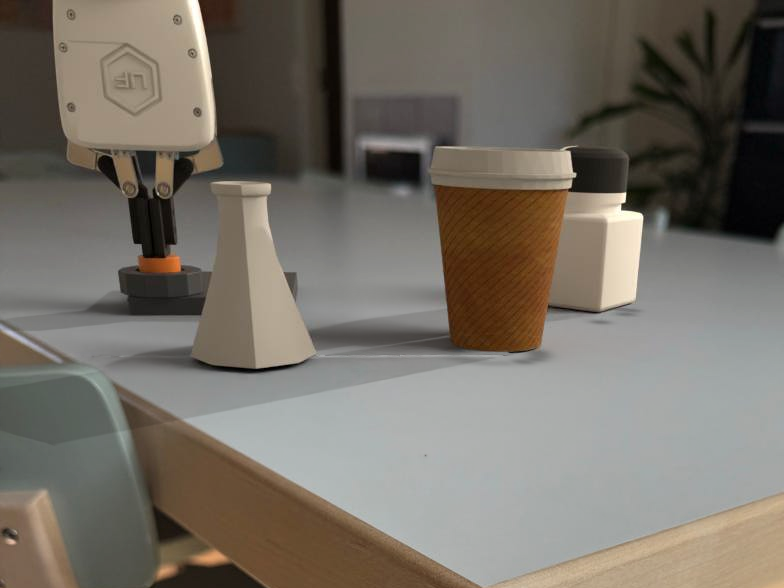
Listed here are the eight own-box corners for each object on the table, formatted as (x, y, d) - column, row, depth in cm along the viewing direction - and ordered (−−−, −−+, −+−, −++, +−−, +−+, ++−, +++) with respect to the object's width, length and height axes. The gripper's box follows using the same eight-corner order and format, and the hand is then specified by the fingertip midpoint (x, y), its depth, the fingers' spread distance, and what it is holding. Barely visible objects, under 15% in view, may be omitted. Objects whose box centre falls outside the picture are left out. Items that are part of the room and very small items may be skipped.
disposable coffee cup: (398, 341, 67) (396, 145, 62) (491, 325, 74) (497, 146, 68) (501, 364, 62) (509, 151, 56) (592, 345, 68) (608, 152, 63)
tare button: (137, 280, 73) (134, 258, 72) (143, 274, 75) (141, 253, 75) (179, 280, 73) (176, 258, 73) (184, 275, 76) (181, 253, 75)
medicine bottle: (636, 302, 85) (651, 147, 79) (599, 313, 80) (613, 147, 74) (563, 294, 88) (573, 144, 83) (523, 303, 83) (531, 144, 77)
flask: (257, 378, 57) (242, 188, 52) (169, 361, 60) (147, 181, 56) (337, 357, 62) (330, 184, 58) (252, 343, 66) (239, 177, 61)
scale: (118, 317, 73) (112, 274, 71) (148, 287, 85) (143, 250, 84) (293, 318, 74) (291, 276, 73) (297, 288, 87) (295, 252, 85)
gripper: (-13, -56, 61) (39, 260, 69) (235, -41, 63) (256, 264, 71) (20, -39, 67) (64, 247, 76) (243, -26, 69) (261, 251, 78)
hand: (157, 254), depth 74 cm, fingers closed
